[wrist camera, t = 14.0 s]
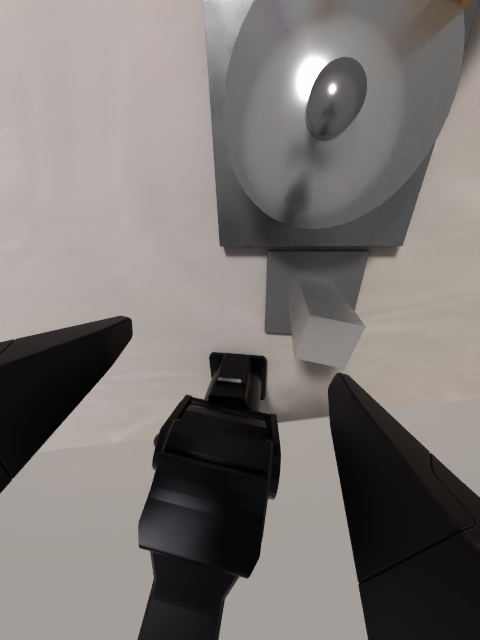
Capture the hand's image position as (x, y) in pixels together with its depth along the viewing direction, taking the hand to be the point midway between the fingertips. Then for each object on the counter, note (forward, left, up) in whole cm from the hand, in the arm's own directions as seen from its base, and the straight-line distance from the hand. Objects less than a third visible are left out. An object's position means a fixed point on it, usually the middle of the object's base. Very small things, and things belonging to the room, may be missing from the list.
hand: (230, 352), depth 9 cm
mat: (-2, -5, -12) cm, 13 cm away
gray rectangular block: (-1, -5, -12) cm, 13 cm away
